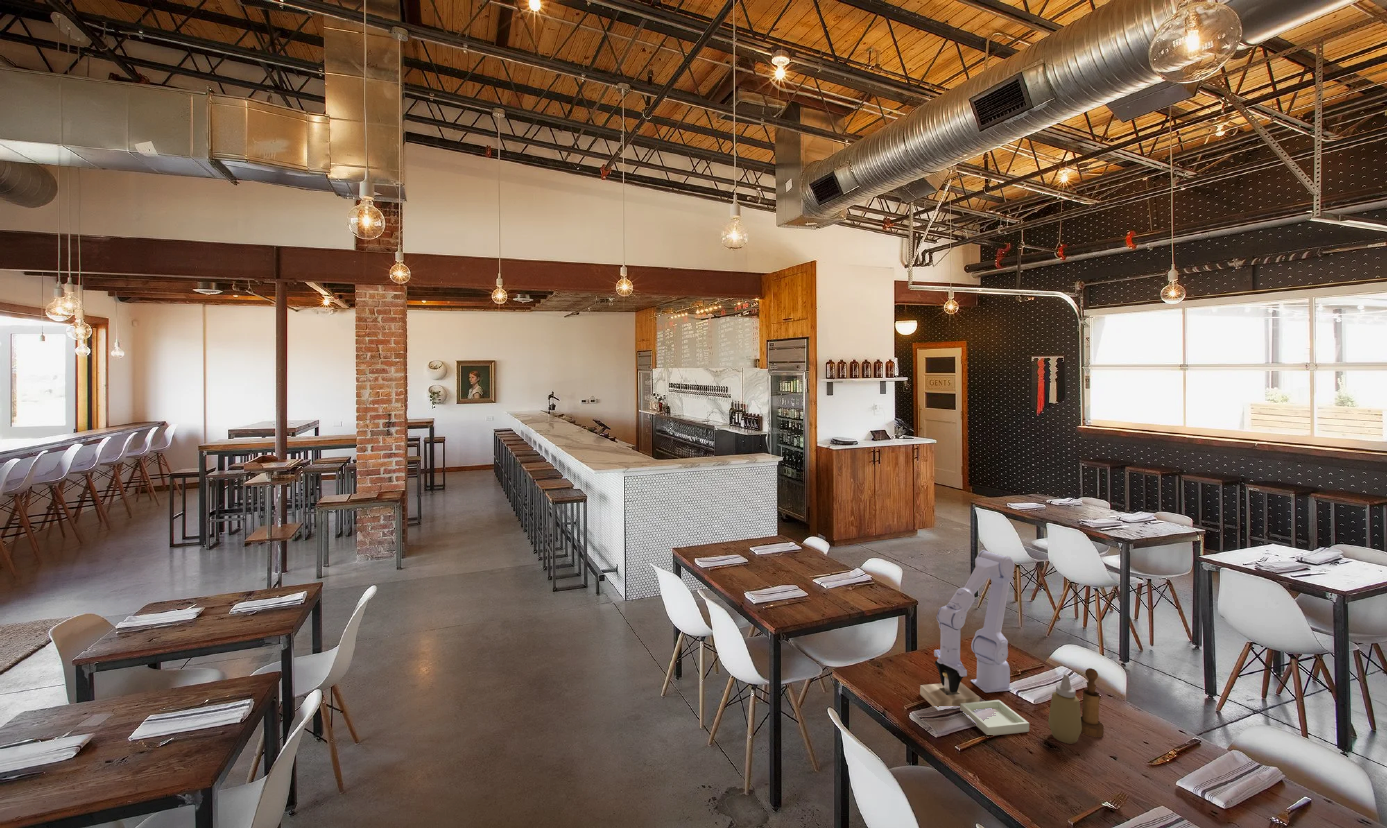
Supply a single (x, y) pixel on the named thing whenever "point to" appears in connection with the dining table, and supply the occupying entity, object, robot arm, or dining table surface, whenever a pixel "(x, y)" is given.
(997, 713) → the tray
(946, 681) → the pin
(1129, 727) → the dining table surface
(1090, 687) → the wooden pepper mill
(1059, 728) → the squeeze bottle
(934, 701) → the hitch block
